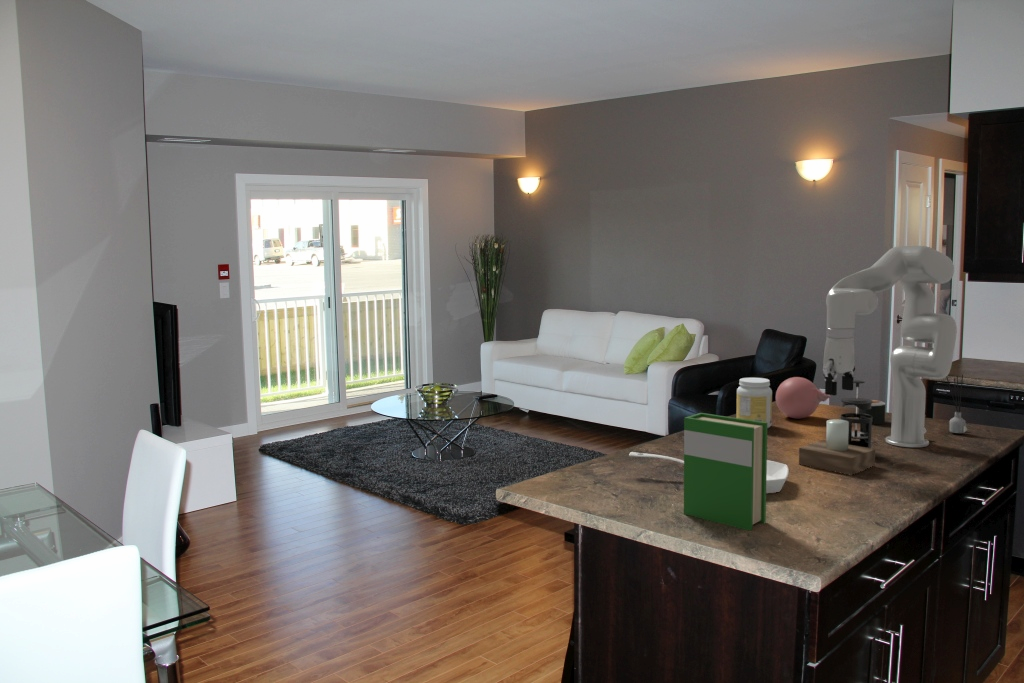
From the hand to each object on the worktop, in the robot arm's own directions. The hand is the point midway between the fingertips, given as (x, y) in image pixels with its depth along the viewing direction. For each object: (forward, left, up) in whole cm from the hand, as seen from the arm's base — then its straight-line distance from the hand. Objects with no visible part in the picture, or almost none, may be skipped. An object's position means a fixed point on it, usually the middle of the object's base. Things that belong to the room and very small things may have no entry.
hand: (839, 392), depth 234 cm
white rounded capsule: (0, 0, -17) cm, 17 cm away
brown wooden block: (0, 0, -22) cm, 22 cm away
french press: (-16, -2, -22) cm, 27 cm away
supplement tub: (-27, -45, -22) cm, 57 cm away
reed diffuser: (-65, +8, -22) cm, 69 cm away
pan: (+40, -18, -22) cm, 49 cm away
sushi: (-62, -19, -22) cm, 68 cm away
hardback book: (+62, +4, -22) cm, 66 cm away
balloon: (-50, -39, -22) cm, 67 cm away
